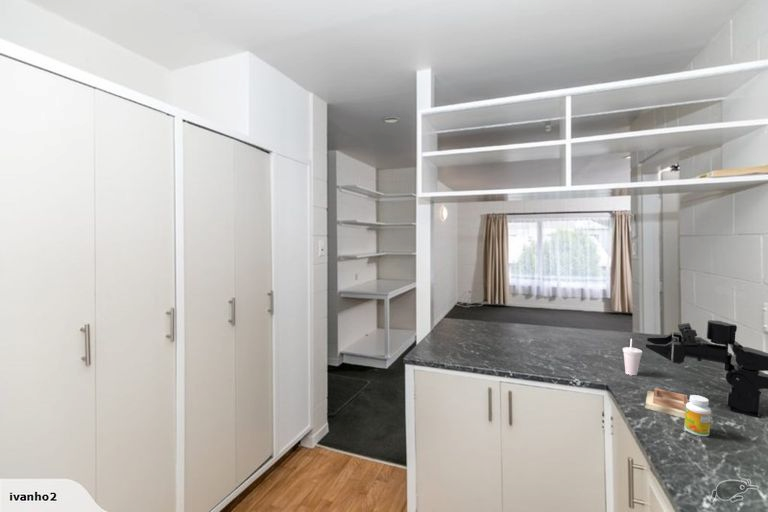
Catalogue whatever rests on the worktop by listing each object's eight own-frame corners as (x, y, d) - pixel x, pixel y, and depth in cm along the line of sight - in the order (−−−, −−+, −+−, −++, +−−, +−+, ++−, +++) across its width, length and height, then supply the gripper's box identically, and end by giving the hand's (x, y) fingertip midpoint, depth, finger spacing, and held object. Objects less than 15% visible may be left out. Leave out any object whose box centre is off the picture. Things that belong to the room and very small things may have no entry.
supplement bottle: (679, 425, 103) (681, 393, 103) (698, 426, 103) (700, 393, 103) (694, 436, 98) (697, 402, 97) (714, 437, 98) (717, 402, 97)
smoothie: (622, 369, 145) (624, 335, 144) (641, 373, 141) (643, 338, 140) (620, 374, 140) (622, 339, 139) (640, 378, 136) (642, 342, 135)
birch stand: (693, 405, 115) (694, 395, 115) (695, 421, 106) (696, 409, 106) (647, 394, 123) (648, 384, 123) (645, 408, 114) (646, 397, 113)
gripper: (705, 321, 124) (649, 315, 134) (709, 334, 110) (646, 325, 119) (702, 353, 125) (647, 344, 135) (707, 369, 110) (644, 358, 120)
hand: (646, 342), depth 127 cm, fingers open, 9 cm apart
